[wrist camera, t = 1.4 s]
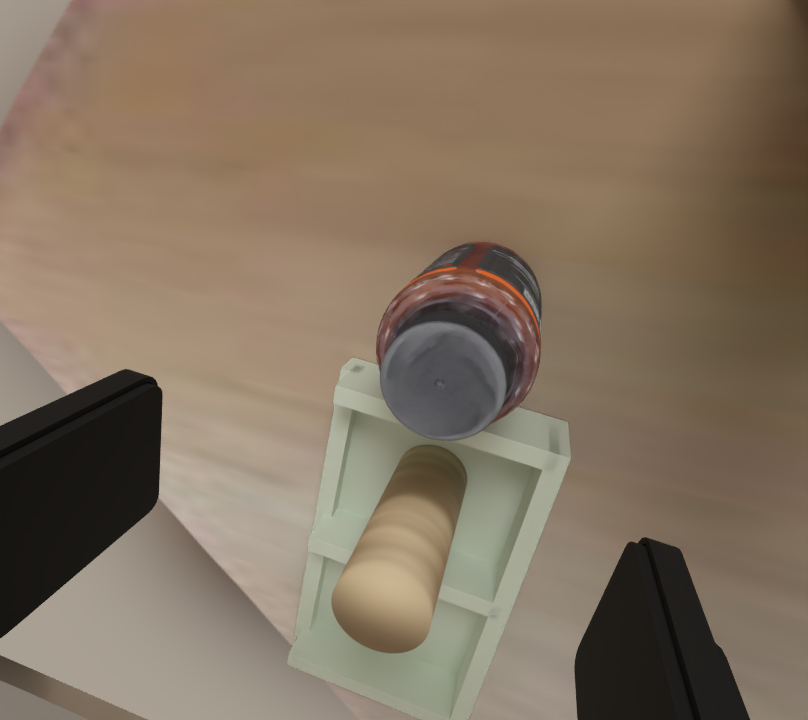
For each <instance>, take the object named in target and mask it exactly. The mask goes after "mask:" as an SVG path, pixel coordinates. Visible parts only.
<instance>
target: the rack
mask: <svg viewBox="0 0 808 720" xmlns="http://www.w3.org/2000/svg"><path fill="white" fill-rule="evenodd" d="M333 403H334V404H335V406H334V412H333V417H332V423H331V428H330V434H329V440H328V445H327V451H326V457H325V462H324V468H323V474H322V479H321V485H320V490H319V496H318V502H317V507H316V513H315V519H314V524H313V530H312V533H311V534H310V536H309V541H308V547H307V550H309V552H308V558H307V564H306V569H305V575H304V581H303V586H302V592H301V598H300V603H299V609H298V614H297V620H296V626H295V631H294V637H297V639H296V641H295V643H294V645H293V647H292V649H291V651H290V652H289V656H288V661H287V665H289V666H291V667H294V668H296V669H299V670H301V671H304V672H306V673H308V674H311V675H313V676H316V677H319V678H321V679H323V680H325V681H328V682H330V683H333V684H335V685H338V686H340V687H343V688H345V689H347V690H350V691H352V692H355V693H357V694H360V695H362V696H364V697H367V698H369V699H372V700H374V701H377V702H379V703H382V704H384V705H386V706H389V707H391V708H394V709H396V710H399V711H401V712H403V713H406V714H408V715H411V716H413V717H416V718H418V719H420V720H469V718H470V715H471V713H472V710H473V707H474V705H475V702H476V700H477V697H478V695H479V692H480V690H481V687H482V684H483V682H484V679H485V677H486V674H487V672H488V669H489V667H490V664H491V661H492V659H493V656H494V654H495V651H496V649H497V646H498V644H499V641H500V639H501V636H502V633H503V631H504V628H505V626H506V623H507V621H508V618H509V616H510V613H511V610H512V608H513V605H514V603H515V600H516V598H517V595H518V593H519V590H520V587H521V585H522V582H523V580H524V577H525V575H526V572H527V570H528V567H529V565H530V562H531V559H532V557H533V554H534V552H535V549H536V547H537V544H538V542H539V539H540V536H541V534H542V531H543V529H544V526H545V524H546V521H547V519H548V516H549V513H550V511H551V508H552V506H553V503H554V501H555V498H556V496H557V493H558V491H559V488H560V485H561V483H562V480H563V478H564V475H565V473H566V470H567V468H568V465H569V462H570V460H571V452H570V440H569V428H568V422H566V421H563V420H560V419H556V418H553V417H550V416H546V415H543V414H540V413H536V412H533V411H530V410H526V409H523V408H520V407H516V408H515V409H514V410H513V411H512V412H510V413H509V414H508V415H506V416H505V417H503V418H501V419H499V420H498V421H496V422H494V423H492V424H490V425H489V426H487V427H486V428H485V429H484V430H483V431H481V432H479V433H478V434H476V435H474V436H472V437H468V438H465V439H461V440H455V441H441V440H433V439H429V438H426V437H423V436H421V435H419V434H417V433H415V432H413V431H411V430H409V429H408V428H407V427H405V426H404V425H403V424H402V423H401V422H400V421H398V420H397V418H396V417H395V416H394V415H393V414H392V412H391V410H390V409H389V408H388V406H387V404H386V402H385V400H384V397H383V395H382V391H381V386H380V370H379V366H378V365H377V364H374V363H370V362H367V361H364V360H360V359H357V358H354V357H353V358H351V359H350V360H349V361H348V362H347V363H346V364H345V365H344V366H343V367H342V368H341V372H340V378H339V383H338V384H337V385H336V388H335V393H334V399H333ZM426 444H427V445H436V446H440V447H443V448H445V449H447V450H449V451H450V452H452V453H453V454H454V455H456V456H457V457H458V458H459V460H460V461H461V462H462V464H463V466H464V467H465V470H466V474H467V486H466V490H465V494H464V498H463V502H462V506H461V510H460V514H459V518H458V521H457V525H456V529H455V533H454V537H453V541H452V545H451V549H450V552H449V556H448V560H447V564H446V568H445V572H444V576H443V580H442V583H441V587H440V591H439V595H438V599H437V603H436V607H435V611H434V614H433V618H432V622H431V626H430V630H429V633H428V635H427V637H426V639H425V640H424V642H423V643H422V644H421V645H419V646H418V647H417V648H415V649H413V650H411V651H408V652H404V653H383V652H379V651H375V650H372V649H370V648H367V647H365V646H363V645H361V644H360V643H358V642H357V641H355V640H354V639H352V638H351V637H350V636H349V635H348V634H347V633H346V632H345V631H344V630H343V629H342V628H341V626H340V625H339V623H338V622H337V620H336V618H335V616H334V613H333V610H332V605H331V598H332V593H333V590H334V588H335V586H336V584H337V582H338V580H339V578H340V576H341V574H342V572H343V570H344V568H345V566H346V564H347V562H348V560H349V559H350V557H351V555H352V553H353V551H354V549H355V547H356V545H357V543H358V541H359V539H360V537H361V535H362V533H363V531H364V529H365V527H366V525H367V523H368V522H369V520H370V518H371V516H372V514H373V512H374V510H375V508H376V506H377V504H378V502H379V500H380V498H381V496H382V494H383V492H384V490H385V488H386V486H387V485H388V483H389V481H390V479H391V477H392V475H393V473H394V471H395V469H396V467H397V465H398V463H399V461H400V459H401V457H402V456H403V455H404V454H405V453H406V452H407V451H408V450H409V449H411V448H413V447H416V446H419V445H426Z"/></svg>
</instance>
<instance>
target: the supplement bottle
mask: <svg viewBox="0 0 808 720" xmlns="http://www.w3.org/2000/svg"><path fill="white" fill-rule="evenodd" d="M541 306H542V305H541V293H540V289H539V285H538V282H537V280H536V277H535V275H534V273H533V271H532V270H531V268H530V267H529V265H528V264H527V263H526V262H525V261H524V260H523V259H522V258H521V257H520V256H519V255H517V254H516V253H515V252H514V251H512V250H510V249H508V248H506V247H503V246H500V245H497V244H493V243H487V242H472V243H467V244H464V245H461V246H458V247H455V248H453V249H451V250H449V251H447V252H446V253H444V254H443V255H442V256H440V257H439V258H438V259H437V260H435V261H434V262H433V263H432V264H431V265H430V266H429V267H427V268H426V269H425V270H424V271H423V272H422V273H421V274H419V275H418V276H417V277H416V278H415V279H414V280H412V281H411V282H410V283H409V284H408V285H407V286H406V287H405V288H404V289H403V290H402V291H401V292H400V293H398V294H397V295H396V297H395V298H394V299H393V300H392V302H391V303H390V305H389V306H388V308H387V310H386V312H385V313H384V315H383V318H382V320H381V322H380V326H379V330H378V335H377V343H376V355H377V362H378V366H379V370H380V386H381V391H382V395H383V397H384V400H385V402H386V404H387V406H388V408H389V409H390V410H391V412H392V414H393V415H394V416H395V417H396V418H397V420H398V421H400V422H401V423H402V424H403V425H404V426H405V427H407V428H408V429H409V430H411V431H413V432H415V433H417V434H419V435H421V436H423V437H426V438H429V439H433V440H441V441H455V440H461V439H465V438H468V437H472V436H474V435H476V434H478V433H479V432H481V431H483V430H484V429H485V428H486V427H487V426H489V425H490V424H492V423H494V422H496V421H498V420H499V419H501V418H503V417H505V416H506V415H508V414H509V413H510V412H512V411H513V410H514V409H515V408H516V407H517V406H518V405H519V404H520V403H521V402H522V401H523V400H524V398H525V397H526V395H527V394H528V393H529V391H530V390H531V387H532V385H533V383H534V380H535V377H536V375H537V371H538V368H539V363H540V353H541Z"/></svg>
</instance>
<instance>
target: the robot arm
mask: <svg viewBox="0 0 808 720" xmlns="http://www.w3.org/2000/svg"><path fill="white" fill-rule="evenodd" d="M161 421H162V390H161V388H159V387H158V385H157V382H156V380H155V379H154V378H153V377H150V376H147V375H144V374H141V373H138V372H135V371H132V370H127V369H125V370H121V371H119V372H117V373H115V374H112V375H110V376H108V377H106V378H104V379H102V380H99V381H97V382H95V383H93V384H91V385H88V386H86V387H84V388H82V389H80V390H78V391H75V392H73V393H71V394H69V395H67V396H65V397H62V398H60V399H58V400H56V401H54V402H51V403H49V404H47V405H45V406H43V407H40V408H38V409H36V410H34V411H32V412H30V413H27V414H25V415H23V416H21V417H19V418H16V419H14V420H12V421H10V422H8V423H6V424H4V425H1V426H0V638H1V637H3V636H4V635H5V634H7V633H8V632H9V631H10V630H12V629H13V628H14V627H15V626H16V625H18V623H20V622H21V621H22V620H23V619H25V618H26V617H27V616H28V615H29V614H30V613H32V612H33V611H34V610H35V609H36V608H37V607H39V606H40V605H41V604H42V603H43V602H45V601H46V600H47V599H48V598H49V597H50V596H52V595H53V594H54V593H55V592H56V591H57V590H59V589H60V588H61V587H62V586H63V585H64V584H66V583H67V582H68V581H69V580H70V579H72V578H73V577H74V576H75V575H76V574H77V573H79V572H80V571H81V570H82V569H83V568H84V567H86V566H87V565H88V564H89V563H90V562H91V561H93V560H94V559H95V558H96V557H97V556H99V555H100V554H101V553H102V552H103V551H104V550H105V549H107V548H108V547H109V546H110V545H111V544H112V543H113V542H115V541H116V540H117V539H119V538H120V537H121V536H122V535H123V534H124V533H126V532H127V531H128V530H129V529H130V528H131V527H133V526H134V525H135V524H136V523H137V522H138V521H140V520H141V519H142V518H143V517H144V516H145V515H147V514H148V513H149V512H150V511H151V510H152V509H153V507H154V506H155V504H156V502H157V499H158V495H159V475H160V448H161ZM575 685H576V701H577V717H578V720H750V718H749V716H748V713H747V711H746V708H745V705H744V703H743V700H742V697H741V695H740V692H739V690H738V687H737V684H736V682H735V679H734V676H733V674H732V671H731V669H730V666H729V663H728V661H727V658H726V656H725V654H724V652H723V650H722V649H721V648H720V647H719V646H718V645H717V644H716V643H715V642H714V639H713V636H712V633H711V631H710V628H709V625H708V623H707V620H706V617H705V614H704V612H703V609H702V606H701V604H700V601H699V598H698V595H697V593H696V590H695V587H694V585H693V582H692V579H691V576H690V574H689V571H688V568H687V566H686V563H685V560H684V557H683V555H682V553H681V551H680V549H678V548H677V547H674V546H671V545H668V544H664V543H661V542H658V541H655V540H652V539H649V538H646V537H645V538H642V539H641V540H640V541H639V542H638V543H634V542H629V543H628V544H627V545H626V547H625V549H624V551H623V553H622V555H621V558H620V560H619V562H618V564H617V566H616V568H615V570H614V572H613V575H612V577H611V579H610V581H609V583H608V585H607V587H606V589H605V592H604V594H603V596H602V598H601V600H600V602H599V604H598V607H597V609H596V611H595V613H594V615H593V617H592V619H591V621H590V624H589V626H588V628H587V630H586V632H585V634H584V636H583V638H582V641H581V643H580V645H579V647H578V650H577V653H576V658H575ZM0 720H147V719H145V718H142V717H140V716H138V715H136V714H133V713H131V712H129V711H127V710H124V709H122V708H120V707H117V706H115V705H113V704H111V703H108V702H106V701H104V700H101V699H99V698H97V697H95V696H93V695H90V694H88V693H86V692H83V691H81V690H79V689H77V688H74V687H72V686H70V685H67V684H65V683H63V682H60V681H58V680H56V679H54V678H51V677H49V676H47V675H44V674H42V673H40V672H37V671H35V670H33V669H31V668H28V667H26V666H23V665H21V664H19V663H17V662H14V661H12V660H10V659H7V658H5V657H3V656H0Z"/></svg>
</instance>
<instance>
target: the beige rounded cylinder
mask: <svg viewBox="0 0 808 720" xmlns="http://www.w3.org/2000/svg"><path fill="white" fill-rule="evenodd" d="M466 486H467V474H466V470H465V467H464V466H463V464H462V462H461V461H460V460H459V458H458V457H457V456H456V455H454V454H453V453H452V452H450V451H449V450H447V449H445V448H443V447H440V446H436V445H427V444H426V445H419V446H416V447H413V448H411V449H409V450H408V451H407V452H406V453H405V454H404V455H403V456H402V457H401V459H400V461H399V463H398V465H397V467H396V469H395V471H394V473H393V475H392V477H391V479H390V481H389V483H388V485H387V486H386V488H385V490H384V492H383V494H382V496H381V498H380V500H379V502H378V504H377V506H376V508H375V510H374V512H373V514H372V516H371V518H370V520H369V522H368V523H367V525H366V527H365V529H364V531H363V533H362V535H361V537H360V539H359V541H358V543H357V545H356V547H355V549H354V551H353V553H352V555H351V557H350V559H349V560H348V562H347V564H346V566H345V568H344V570H343V572H342V574H341V576H340V578H339V580H338V582H337V584H336V586H335V588H334V590H333V593H332V598H331V605H332V610H333V613H334V616H335V618H336V620H337V622H338V623H339V625H340V626H341V628H342V629H343V630H344V631H345V632H346V633H347V634H348V635H349V636H350V637H351V638H352V639H354V640H355V641H357V642H358V643H360V644H361V645H363V646H365V647H367V648H370V649H372V650H375V651H379V652H383V653H404V652H408V651H411V650H413V649H415V648H417V647H418V646H419V645H421V644H422V643H423V642H424V640H425V639H426V637H427V635H428V633H429V630H430V626H431V622H432V618H433V614H434V611H435V607H436V603H437V599H438V595H439V591H440V587H441V583H442V580H443V576H444V572H445V568H446V564H447V560H448V556H449V552H450V549H451V545H452V541H453V537H454V533H455V529H456V525H457V521H458V518H459V514H460V510H461V506H462V502H463V498H464V494H465V490H466Z"/></svg>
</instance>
